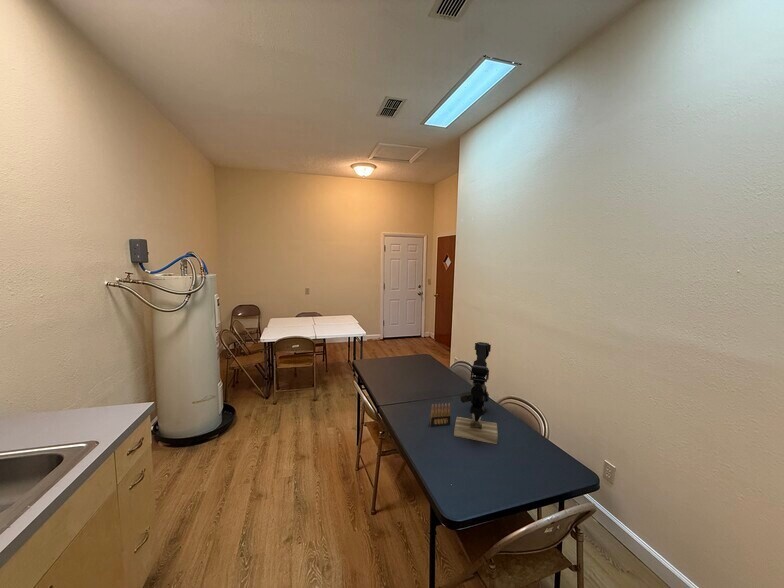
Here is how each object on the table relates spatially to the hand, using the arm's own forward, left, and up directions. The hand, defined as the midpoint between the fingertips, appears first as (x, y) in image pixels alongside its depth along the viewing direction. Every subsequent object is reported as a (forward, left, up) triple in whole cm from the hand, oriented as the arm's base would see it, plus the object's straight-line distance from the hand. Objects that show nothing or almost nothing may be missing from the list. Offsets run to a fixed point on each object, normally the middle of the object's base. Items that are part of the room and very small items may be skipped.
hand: (476, 419), depth 157 cm
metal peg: (0, 0, -3) cm, 3 cm away
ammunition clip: (-2, -18, -8) cm, 20 cm away
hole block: (0, 0, -7) cm, 7 cm away
